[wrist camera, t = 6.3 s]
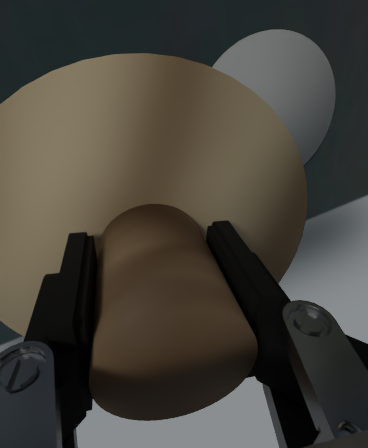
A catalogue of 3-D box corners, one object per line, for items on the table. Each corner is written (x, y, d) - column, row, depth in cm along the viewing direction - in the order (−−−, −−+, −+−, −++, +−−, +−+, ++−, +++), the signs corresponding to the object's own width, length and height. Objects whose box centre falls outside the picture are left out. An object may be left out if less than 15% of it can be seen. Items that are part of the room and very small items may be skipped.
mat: (353, 34, 25) (355, 34, 24) (311, 183, 32) (313, 184, 31) (198, 24, 22) (199, 24, 22) (190, 189, 29) (191, 190, 29)
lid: (328, 62, 10) (568, 66, 5) (263, 318, 16) (334, 440, 11) (-111, 42, 7) (-690, -2, 2) (19, 358, 14) (-38, 541, 8)
